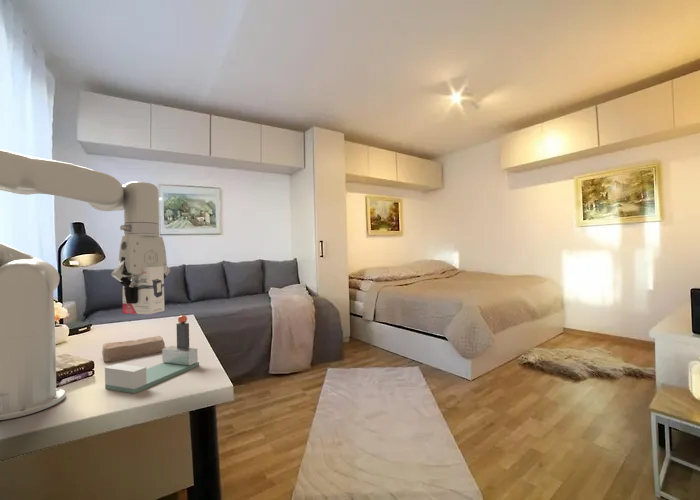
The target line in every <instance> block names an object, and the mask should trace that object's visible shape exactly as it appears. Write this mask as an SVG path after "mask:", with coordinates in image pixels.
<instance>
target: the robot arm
mask: <svg viewBox="0 0 700 500" xmlns="http://www.w3.org/2000/svg"><path fill="white" fill-rule="evenodd" d="M0 191H3V192H6V193H7V192H9V193H12V194H16V195H26V196H27V195H37V194H39V195H40V194H41V195H51V196H57V197H62V198H65V199H72V200H75V201H80V202H86V203H88V204H89V206H90V207H92V208H94V209H96V210H98V211H101V212H116V211H119V212H120V211H123V215H124V216H123V218H124V224H122V225H120V227H119V229H120V231H123V232H124V235H122V236H121V241H120V246H119V253H118V254H119V255H118V265H117V266H116V268H114V270H112V272H111V273H110V275H111V277H112V278H114V279H115V280H116V281H117V282H119V283H120V284H121V285H122V288H123V287H125V294H126V303H131V304H135V303H137V302H138V289H137V287H135V284H136V281H137V277H138V275H143V268H147V267H156V266H162V267H164V280H165V278H166V277H167V276H168V275H169V273H171V269H170V268H169V266H168V261H167V251H166V246H165V245H166V244H165V241H164V239H163V236H160V206H159V205H160V199H159V198H160V197H159V196H160V195H159V189H158V186H157V185H155V184H153V183H151V182H150V183H149V182H146V181H129V182H127V183H125V184H121V182H120V180H118V179H117V178H115V177H114V176H112V175H110V174H108V173H105V172H103V171H99V170H95V169H91V168H87V167H84V166H80V165H76V164H73V163H69V162H64V161H59V160H54V159H46V158H42V157H41V158H40V157H35V156H30V155H26V154H25V155H24V154H21V153H17V152H13V151H9V150H5V149H1V148H0ZM130 273H131V274H130ZM123 275H125V277H124V276H123ZM60 281H61V280H60V273H59V271H58V270H57V269H56V267H55V266H54V265H53V264H51V263H49V262H46V261H44V260H42V259H40V258H37V257H36V256H33V255H31V254H28V253H26V252H24V251H21V250H19V249H17V248H15V247H12V246H11V245H8V244H5V243H3V242H1V241H0V421H4V420H11V419H15V418H21V417H24V416H27V415H32V414H36V413H38V412H41V411H44V410H46V409H49V408H51V407H53V406H55V405H57V404H59V403H60V402H62V401H63V400H64V399H65V398H66V390H64V389H63V388H57V360H56V359H57V354H56V350H57V349H56V347H57V346H56V343H57V342H56V318H55V302H54V301H55V300H54V292H55V290H56V289H57V288H58V286H59V285H60Z"/></svg>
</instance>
